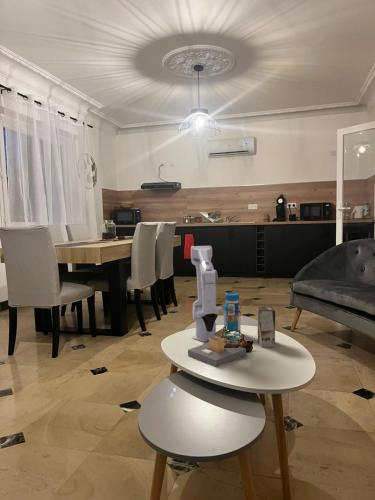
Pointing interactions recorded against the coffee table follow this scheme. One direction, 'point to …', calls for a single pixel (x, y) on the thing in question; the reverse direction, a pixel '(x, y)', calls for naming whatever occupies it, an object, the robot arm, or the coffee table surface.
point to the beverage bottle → (232, 312)
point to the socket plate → (215, 354)
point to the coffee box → (266, 326)
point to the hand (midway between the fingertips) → (209, 331)
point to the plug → (216, 344)
